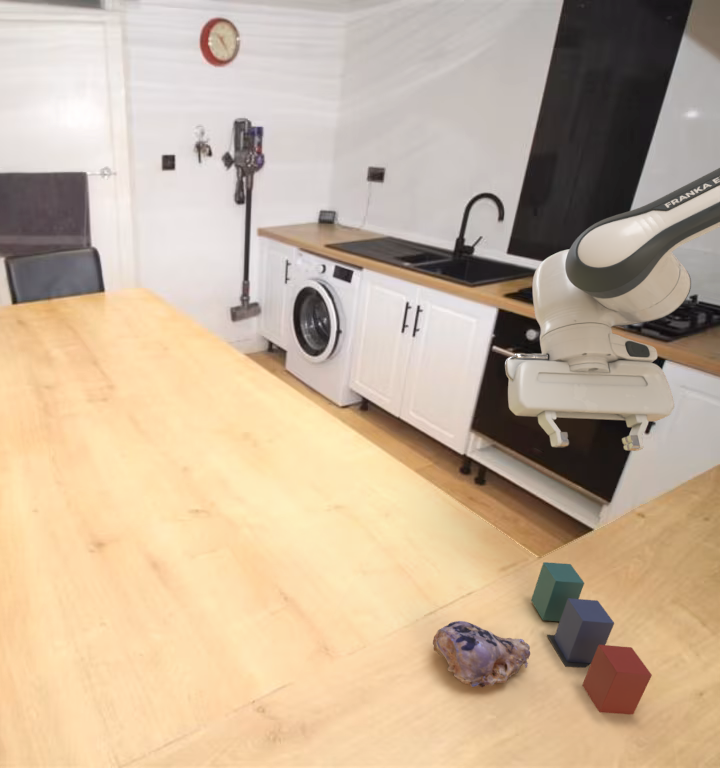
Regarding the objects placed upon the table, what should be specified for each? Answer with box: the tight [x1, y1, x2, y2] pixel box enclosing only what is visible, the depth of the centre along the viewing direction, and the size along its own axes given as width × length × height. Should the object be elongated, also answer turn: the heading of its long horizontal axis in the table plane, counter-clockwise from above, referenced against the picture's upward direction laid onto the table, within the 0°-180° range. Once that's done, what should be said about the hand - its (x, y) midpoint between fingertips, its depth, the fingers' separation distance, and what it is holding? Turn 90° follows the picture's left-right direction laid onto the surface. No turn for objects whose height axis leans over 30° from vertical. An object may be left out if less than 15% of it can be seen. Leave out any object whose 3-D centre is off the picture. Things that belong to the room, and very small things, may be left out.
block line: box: [530, 561, 653, 715], centre depth 68 cm, size 5×17×7 cm, turn 174°
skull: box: [432, 620, 531, 688], centre depth 66 cm, size 12×8×6 cm, turn 90°
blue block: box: [554, 598, 615, 665], centre depth 68 cm, size 4×4×7 cm
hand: (597, 448), depth 73 cm, fingers open, 8 cm apart
